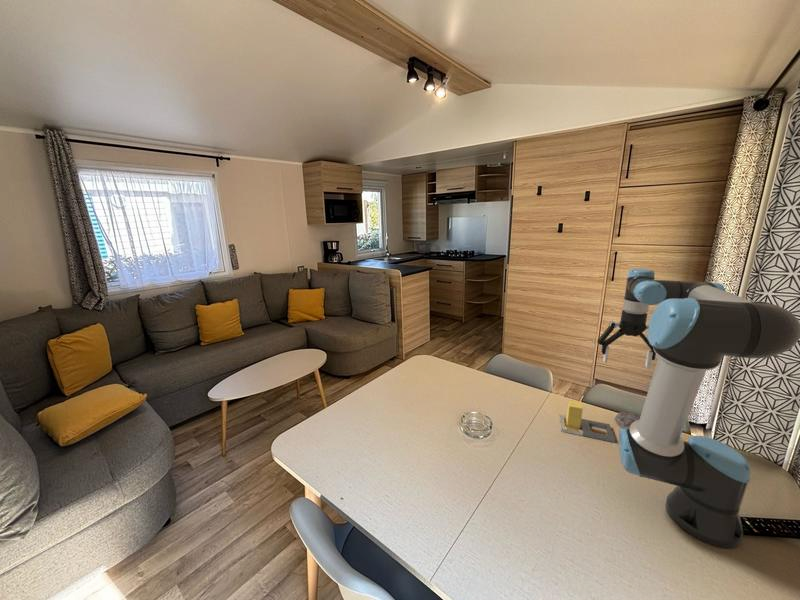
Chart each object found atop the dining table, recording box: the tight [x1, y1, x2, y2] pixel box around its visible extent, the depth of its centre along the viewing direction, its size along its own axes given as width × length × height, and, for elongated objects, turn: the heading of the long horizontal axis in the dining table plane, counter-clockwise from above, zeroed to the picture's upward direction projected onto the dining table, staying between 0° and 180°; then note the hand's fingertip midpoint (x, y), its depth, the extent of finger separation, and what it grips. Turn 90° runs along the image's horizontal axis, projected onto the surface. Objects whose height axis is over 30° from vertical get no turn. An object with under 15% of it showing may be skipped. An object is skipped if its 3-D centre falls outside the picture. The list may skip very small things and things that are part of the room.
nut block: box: [565, 400, 584, 430], centre depth 124 cm, size 4×4×10 cm
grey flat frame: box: [558, 414, 616, 443], centre depth 124 cm, size 10×18×1 cm, turn 67°
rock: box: [614, 411, 640, 430], centre depth 126 cm, size 9×11×4 cm
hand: (625, 364), depth 119 cm, fingers open, 13 cm apart
